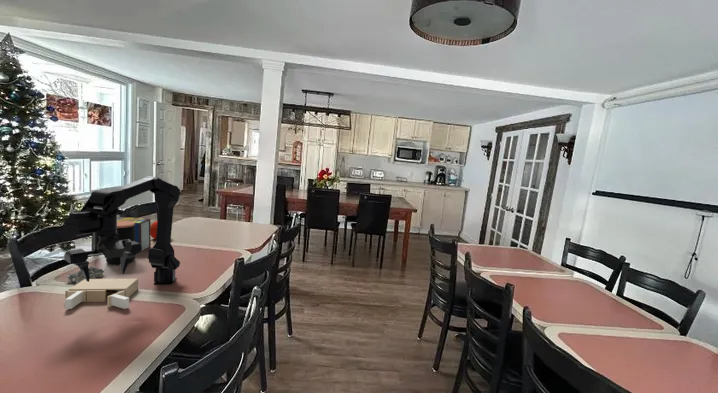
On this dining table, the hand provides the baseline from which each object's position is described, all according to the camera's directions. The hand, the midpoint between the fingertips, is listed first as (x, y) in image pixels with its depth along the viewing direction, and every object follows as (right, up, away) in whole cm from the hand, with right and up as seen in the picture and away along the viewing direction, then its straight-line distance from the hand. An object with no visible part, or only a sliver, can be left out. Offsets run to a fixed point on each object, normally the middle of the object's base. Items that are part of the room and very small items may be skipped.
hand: (105, 277), depth 101 cm
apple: (-35, +1, +83) cm, 90 cm away
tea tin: (-4, -9, +12) cm, 16 cm away
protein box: (-38, -1, +62) cm, 72 cm away
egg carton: (-26, -7, +23) cm, 35 cm away
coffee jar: (-28, -4, +44) cm, 52 cm away
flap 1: (-13, -10, +2) cm, 16 cm away
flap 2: (+2, -11, +5) cm, 12 cm away
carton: (-9, -9, +11) cm, 17 cm away
